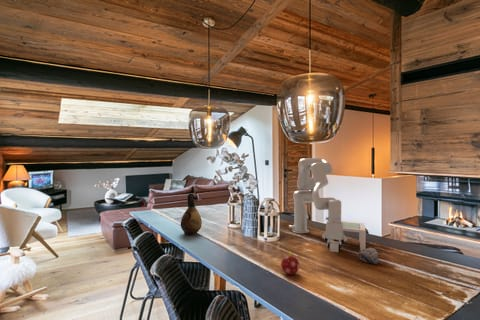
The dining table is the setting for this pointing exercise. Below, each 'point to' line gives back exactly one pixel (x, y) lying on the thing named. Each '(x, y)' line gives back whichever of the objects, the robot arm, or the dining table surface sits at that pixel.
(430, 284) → the dining table surface
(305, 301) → the dining table surface
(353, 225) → the trapdoor
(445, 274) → the dining table surface
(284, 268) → the christmas ornament
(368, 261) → the pumice stone
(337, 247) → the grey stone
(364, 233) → the frame
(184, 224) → the ceramic jug
